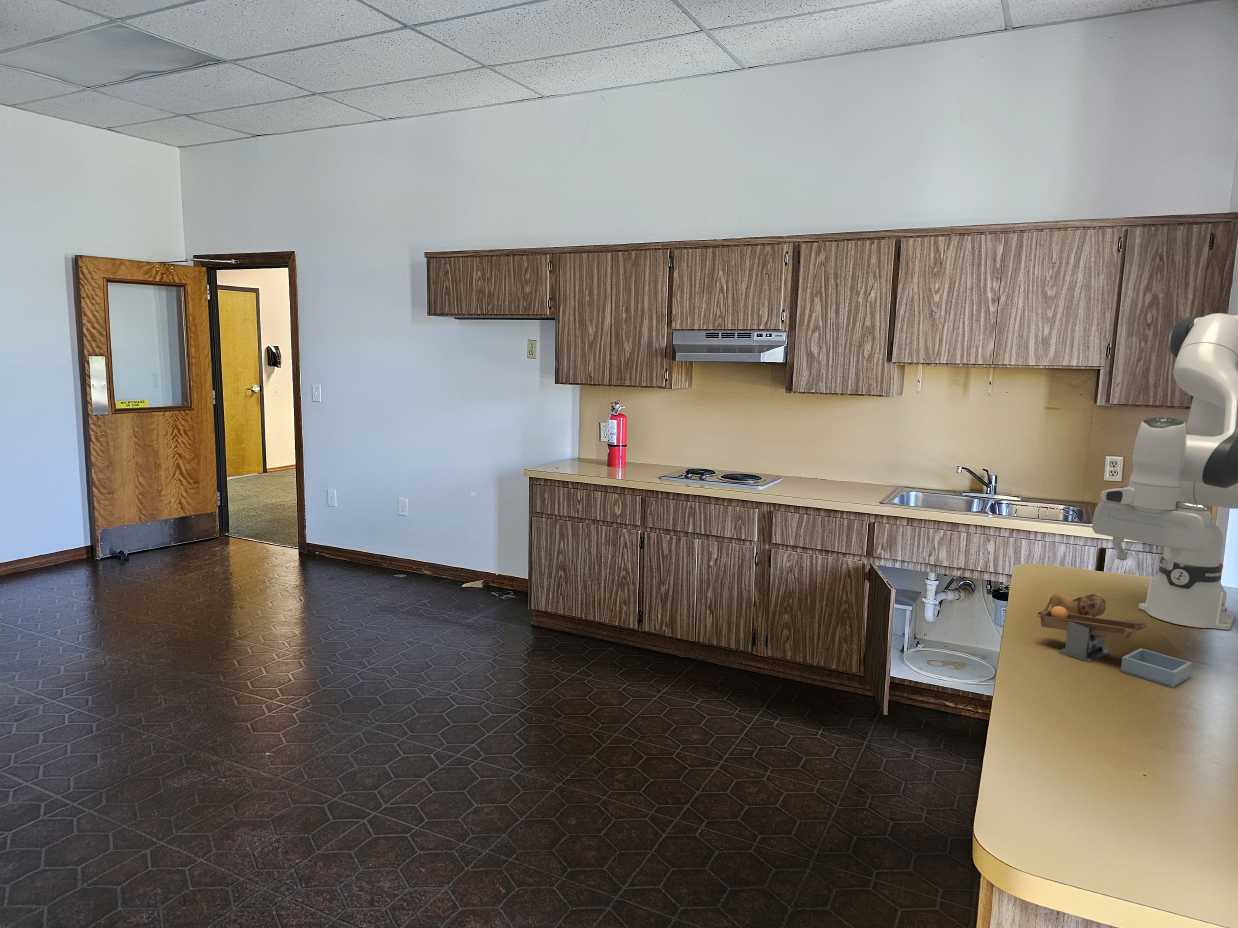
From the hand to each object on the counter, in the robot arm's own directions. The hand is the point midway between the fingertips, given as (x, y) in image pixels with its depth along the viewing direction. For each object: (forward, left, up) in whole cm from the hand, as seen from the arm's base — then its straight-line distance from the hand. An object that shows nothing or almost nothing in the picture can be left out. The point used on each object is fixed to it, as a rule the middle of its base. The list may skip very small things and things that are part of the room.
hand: (1143, 564), depth 165 cm
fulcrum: (+8, -6, -19) cm, 22 cm away
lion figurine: (-8, -16, -20) cm, 26 cm away
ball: (+8, -12, -13) cm, 19 cm away
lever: (+4, -6, -14) cm, 16 cm away
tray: (+8, +7, -19) cm, 22 cm away
